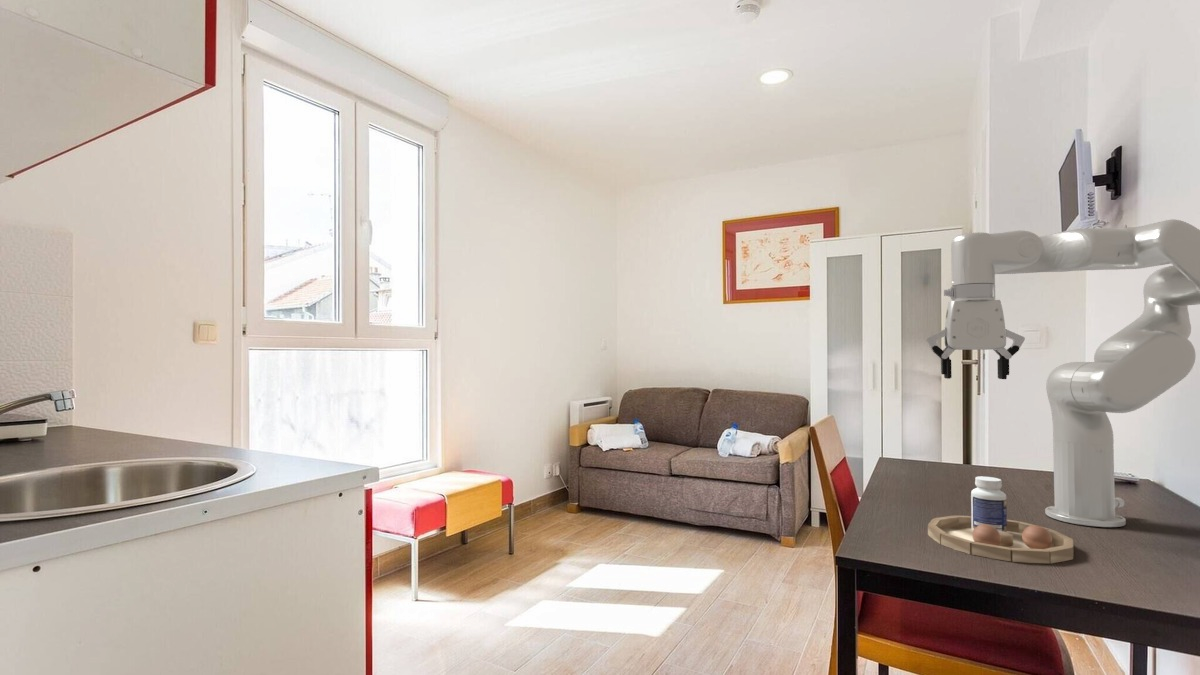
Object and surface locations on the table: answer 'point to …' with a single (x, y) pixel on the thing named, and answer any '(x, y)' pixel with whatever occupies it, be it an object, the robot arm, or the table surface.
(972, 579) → the table surface
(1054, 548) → the groove tray
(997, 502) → the pill bottle
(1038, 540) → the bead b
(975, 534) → the brown egg
